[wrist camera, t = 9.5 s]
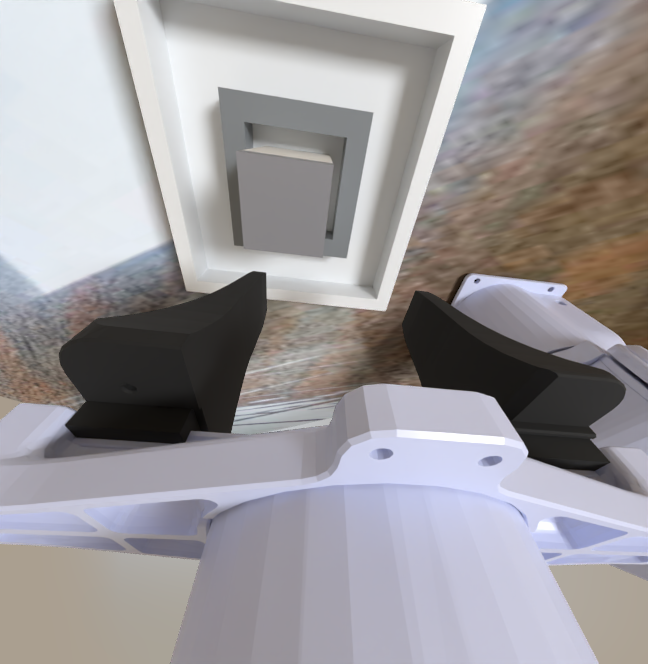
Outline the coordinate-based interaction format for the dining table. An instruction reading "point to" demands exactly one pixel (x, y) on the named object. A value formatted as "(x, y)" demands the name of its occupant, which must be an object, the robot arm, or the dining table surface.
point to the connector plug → (284, 199)
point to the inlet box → (298, 125)
